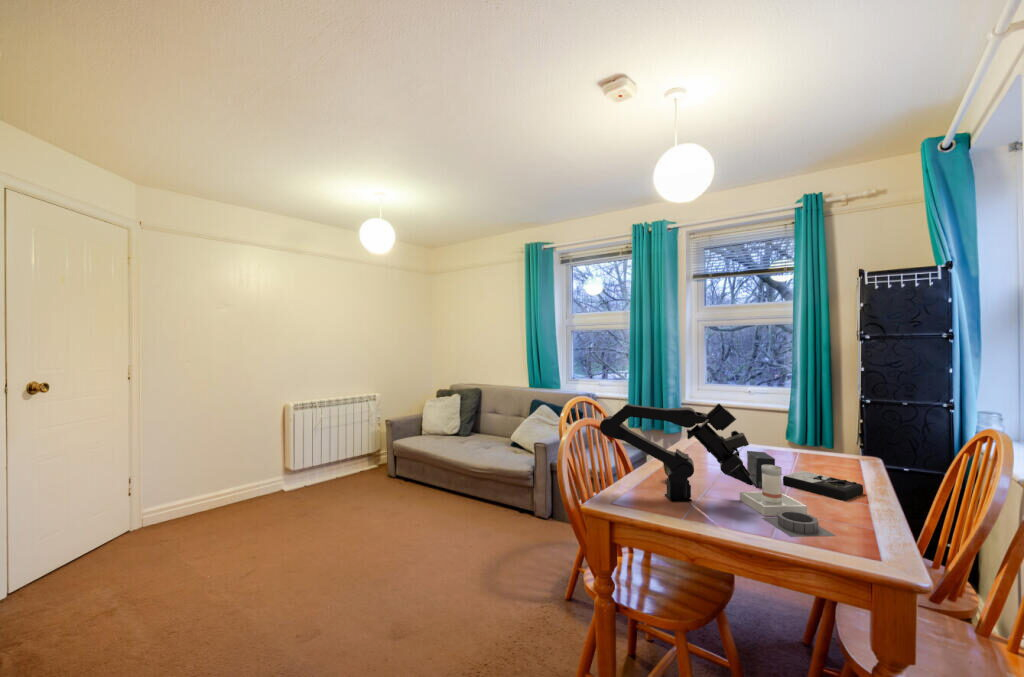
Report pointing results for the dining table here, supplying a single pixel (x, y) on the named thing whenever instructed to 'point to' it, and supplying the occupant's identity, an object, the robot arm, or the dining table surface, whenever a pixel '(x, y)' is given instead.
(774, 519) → the fuse holder
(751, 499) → the tray
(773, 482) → the cylinder
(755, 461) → the small box
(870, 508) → the dining table surface
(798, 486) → the multimeter
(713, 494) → the dining table surface
